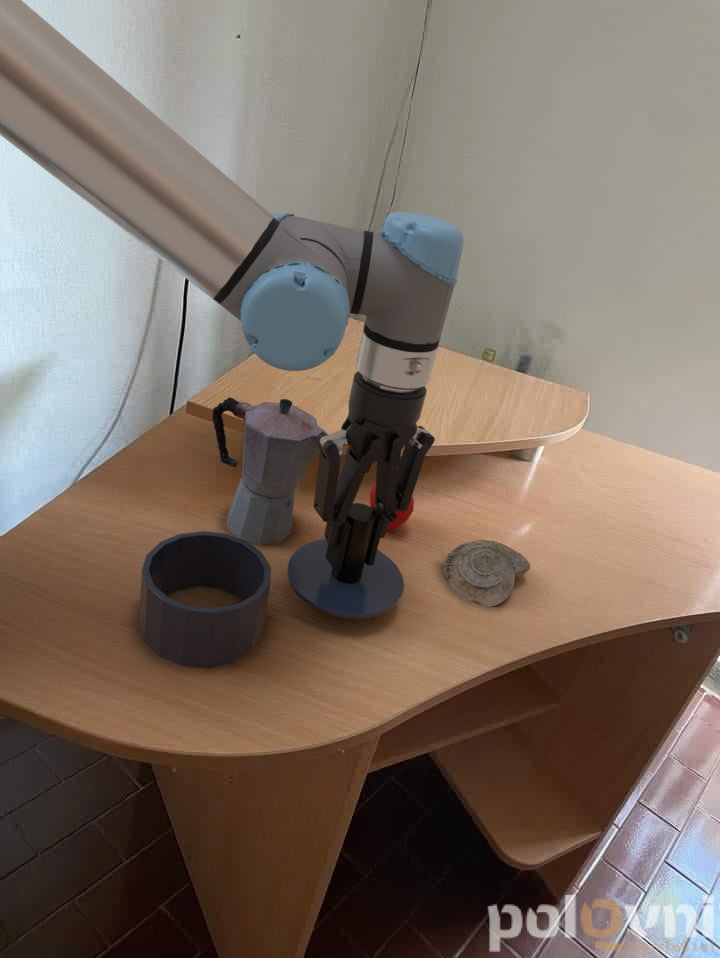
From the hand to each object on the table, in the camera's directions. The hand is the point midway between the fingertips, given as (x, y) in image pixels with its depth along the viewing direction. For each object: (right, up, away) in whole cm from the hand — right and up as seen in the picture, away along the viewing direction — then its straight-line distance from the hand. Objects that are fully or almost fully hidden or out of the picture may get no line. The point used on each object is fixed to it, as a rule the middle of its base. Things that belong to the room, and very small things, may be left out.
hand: (349, 560), depth 82 cm
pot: (-16, -7, -5) cm, 18 cm away
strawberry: (+5, +2, +18) cm, 19 cm away
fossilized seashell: (+18, -5, +12) cm, 22 cm away
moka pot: (-13, +2, +12) cm, 18 cm away
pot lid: (0, -2, +1) cm, 3 cm away
